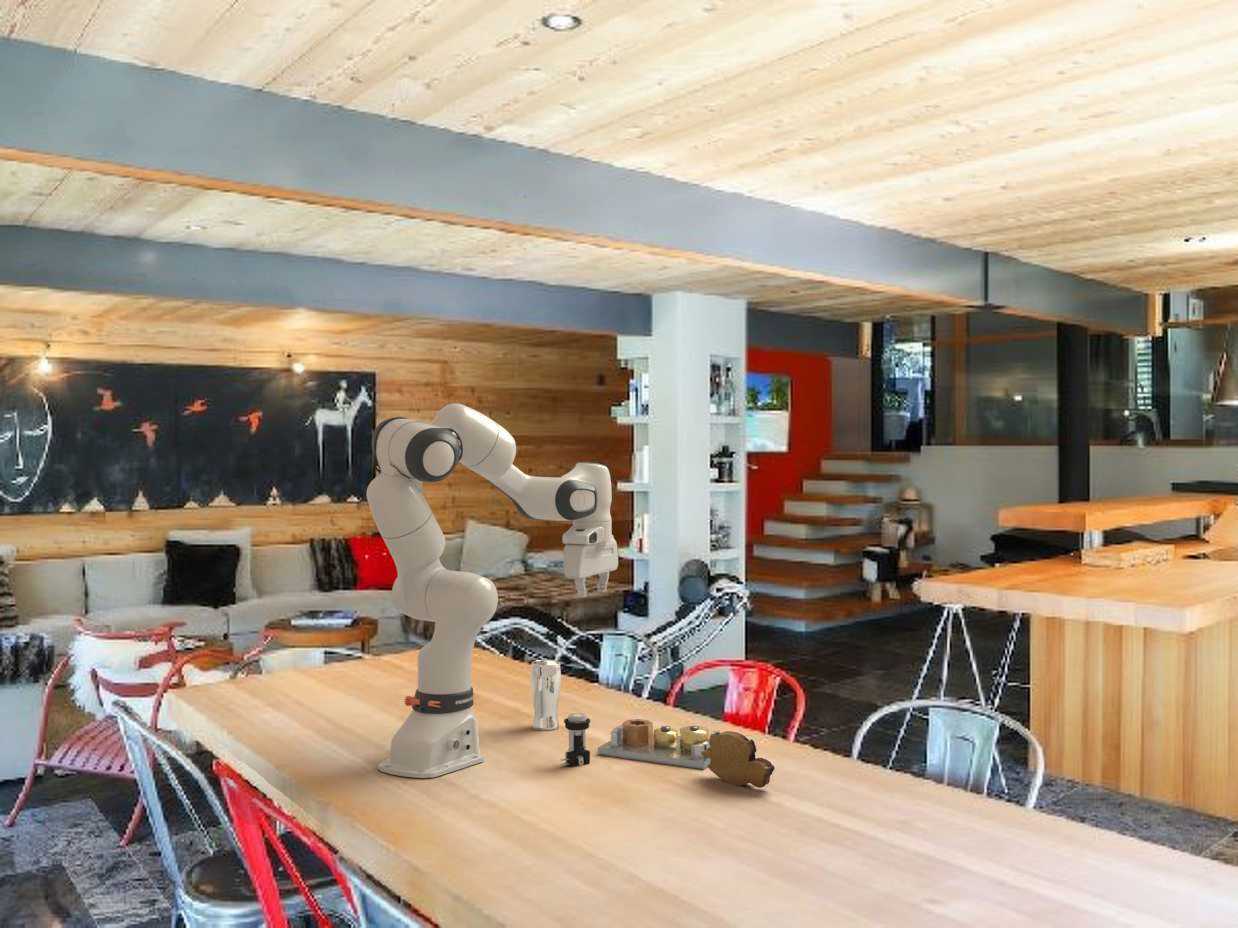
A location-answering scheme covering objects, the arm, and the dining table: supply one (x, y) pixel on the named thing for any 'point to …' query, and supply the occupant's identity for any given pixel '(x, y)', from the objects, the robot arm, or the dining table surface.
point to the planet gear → (637, 732)
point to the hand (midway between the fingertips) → (592, 594)
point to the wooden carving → (737, 760)
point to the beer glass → (545, 693)
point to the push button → (576, 740)
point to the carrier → (663, 747)
